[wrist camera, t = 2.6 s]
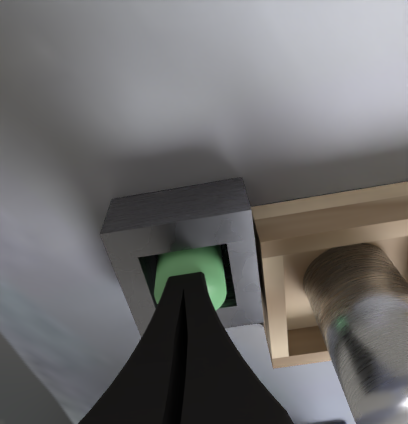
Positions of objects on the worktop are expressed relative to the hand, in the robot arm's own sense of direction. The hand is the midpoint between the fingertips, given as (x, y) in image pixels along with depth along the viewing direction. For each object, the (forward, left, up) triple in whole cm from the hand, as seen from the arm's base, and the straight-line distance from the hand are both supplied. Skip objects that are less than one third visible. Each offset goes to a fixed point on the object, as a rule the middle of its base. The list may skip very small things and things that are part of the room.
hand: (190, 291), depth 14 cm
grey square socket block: (0, 0, -3) cm, 3 cm away
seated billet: (-3, -7, -2) cm, 8 cm away
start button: (0, 0, -3) cm, 3 cm away
